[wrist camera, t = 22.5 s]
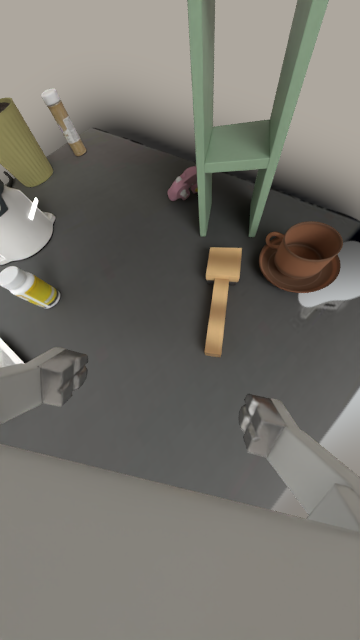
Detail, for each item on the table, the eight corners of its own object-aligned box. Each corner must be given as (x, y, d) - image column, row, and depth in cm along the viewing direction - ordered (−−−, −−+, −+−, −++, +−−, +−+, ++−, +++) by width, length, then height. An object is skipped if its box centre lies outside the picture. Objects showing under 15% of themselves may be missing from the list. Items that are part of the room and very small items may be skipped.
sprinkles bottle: (72, 155, 59) (37, 94, 47) (81, 148, 60) (49, 87, 48) (80, 157, 58) (45, 95, 45) (89, 150, 59) (57, 87, 46)
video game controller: (175, 212, 42) (178, 191, 35) (165, 196, 41) (166, 171, 34) (207, 192, 42) (216, 168, 36) (197, 177, 42) (204, 149, 35)
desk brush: (230, 359, 25) (233, 356, 23) (194, 353, 26) (193, 349, 24) (239, 260, 32) (241, 248, 29) (210, 258, 33) (210, 247, 30)
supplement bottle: (61, 286, 36) (21, 260, 29) (61, 304, 35) (18, 281, 27) (41, 294, 37) (-4, 269, 29) (40, 312, 35) (-8, 291, 27)
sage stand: (254, 237, 33) (374, -147, 9) (200, 236, 35) (183, -71, 12) (256, 202, 36) (347, -144, 13) (206, 204, 39) (203, -85, 15)
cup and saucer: (249, 288, 29) (259, 265, 23) (263, 238, 33) (274, 207, 27) (329, 305, 26) (363, 283, 20) (334, 247, 29) (364, 214, 24)
